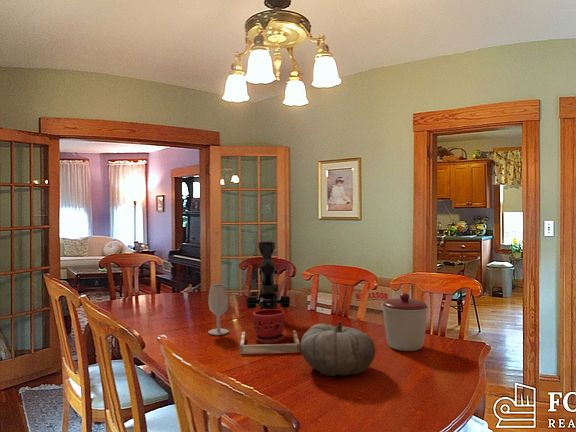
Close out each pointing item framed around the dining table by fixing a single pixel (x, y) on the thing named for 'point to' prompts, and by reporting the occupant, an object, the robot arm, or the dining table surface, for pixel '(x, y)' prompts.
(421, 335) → the canister
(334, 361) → the gourd
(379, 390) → the dining table surface
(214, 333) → the wineglass
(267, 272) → the robot arm
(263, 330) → the plant pot
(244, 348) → the frame
